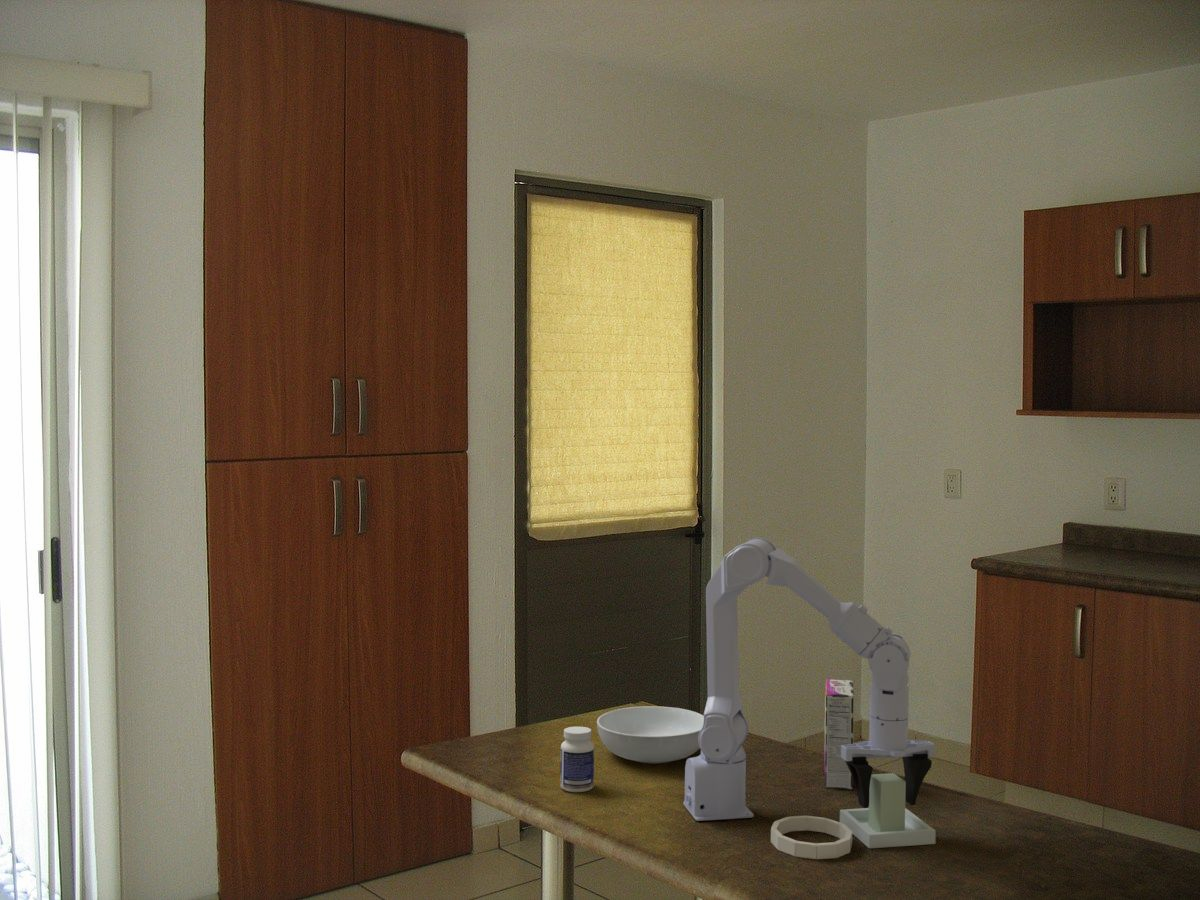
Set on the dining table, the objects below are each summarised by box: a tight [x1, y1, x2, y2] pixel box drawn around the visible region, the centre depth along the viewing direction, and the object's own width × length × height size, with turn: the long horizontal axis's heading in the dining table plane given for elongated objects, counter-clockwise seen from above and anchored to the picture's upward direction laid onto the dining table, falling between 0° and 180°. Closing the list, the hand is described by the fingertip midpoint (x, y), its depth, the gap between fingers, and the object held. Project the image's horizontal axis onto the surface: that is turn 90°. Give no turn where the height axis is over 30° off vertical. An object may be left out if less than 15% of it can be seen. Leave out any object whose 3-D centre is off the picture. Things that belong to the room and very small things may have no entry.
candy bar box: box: [823, 678, 855, 790], centre depth 195 cm, size 11×5×16 cm, turn 168°
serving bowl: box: [596, 705, 704, 765], centre depth 207 cm, size 21×21×7 cm
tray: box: [839, 807, 937, 849], centre depth 170 cm, size 11×11×2 cm
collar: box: [770, 815, 853, 860], centre depth 166 cm, size 12×12×2 cm
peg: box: [868, 772, 906, 832], centre depth 170 cm, size 4×4×8 cm
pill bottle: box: [559, 726, 595, 793], centre depth 189 cm, size 6×6×10 cm
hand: (886, 804), depth 170 cm, fingers open, 7 cm apart
